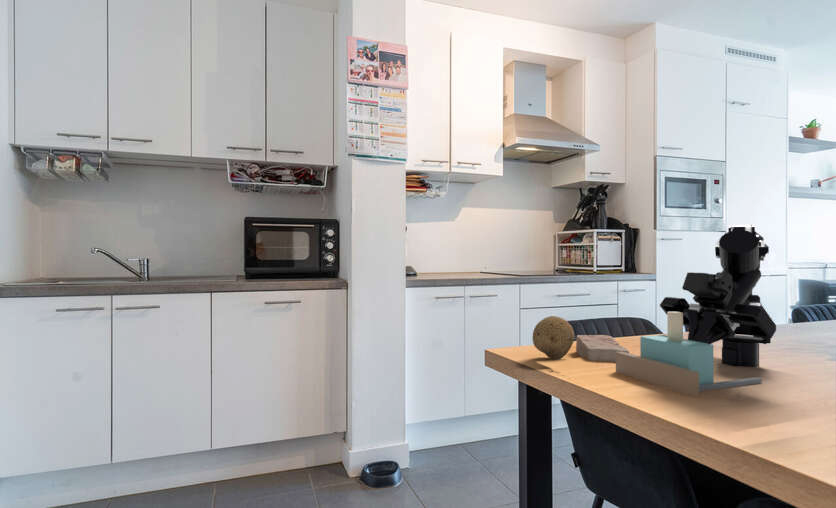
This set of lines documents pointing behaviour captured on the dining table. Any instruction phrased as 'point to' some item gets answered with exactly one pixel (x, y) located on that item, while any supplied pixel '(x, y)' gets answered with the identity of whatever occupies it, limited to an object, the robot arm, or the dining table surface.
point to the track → (670, 375)
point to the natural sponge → (553, 337)
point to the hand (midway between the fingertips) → (689, 350)
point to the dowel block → (679, 349)
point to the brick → (598, 347)
